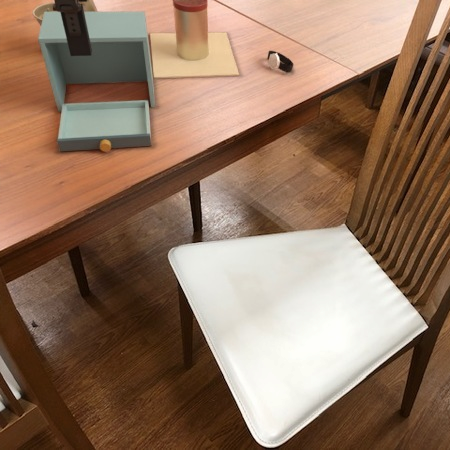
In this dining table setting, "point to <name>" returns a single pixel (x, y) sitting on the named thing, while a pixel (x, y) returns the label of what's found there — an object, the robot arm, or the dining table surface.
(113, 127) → the drawer
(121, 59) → the cubby
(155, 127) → the dining table surface
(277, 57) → the watch
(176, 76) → the mat
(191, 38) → the tea tin
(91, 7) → the mug
